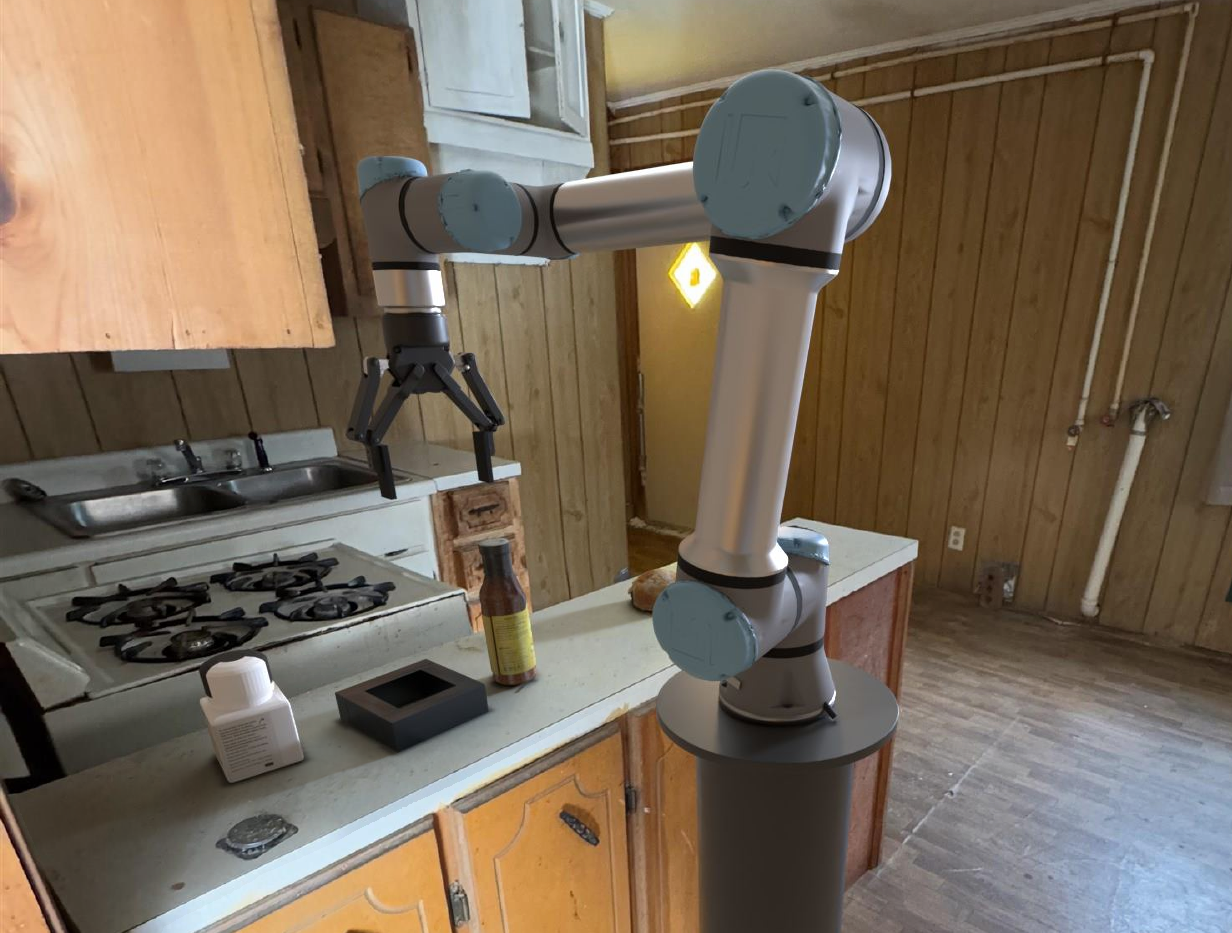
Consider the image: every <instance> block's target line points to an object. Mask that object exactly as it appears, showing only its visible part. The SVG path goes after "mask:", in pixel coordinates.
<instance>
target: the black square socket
mask: <svg viewBox="0 0 1232 933" xmlns="http://www.w3.org/2000/svg"><path fill="white" fill-rule="evenodd" d="M334 696H335V700H336V705H337V710H338V713H339V718H340V721H341V722H343V723H344V724H347V725H348V726H350V727H351V728H353V729H356V730H357V731H359V732H361V733H362V734H365V735H366V736H368V737H370V738H371V739H373V740H375V741H377V742H378V743H380V744H382V745H384V746H386V747H387V748H389V749H390V750H393V751H394V752H395V753H401V752H402V751H405V750H407V749H409V748H412V747H413V746H416V745H418V744H421V743H422V742H424V741H426V740H429V739H431V738H433V737H436V736H438V735H440V734H442V733H444V732H447V731H449V730H451V729H454V728H455V727H457V726H460V725H462V724H464V723H467V722H469V721H471V720H473V719H475V718H477V717H479V716H481V715H483V714H486V713H488V712H489V704H488V698H487V689H486V684H485V683H484V682H482V681H479V680H477V679H475V678H472V677H469V676H467V675H465V674H463V673H461V672H458V671H457V670H456V671H455V670H454V669H451V668H449V667H446V666H444V665H442V664H439V663H438V662H434V661H432V660H430V659H427V658H424V659H421V660H419V661H416V662H413V663H410V664H408V665H405V666H403V667H399V668H398V669H394V670H391V671H389V672H387V673H383V674H381V675H378V676H375V677H373V678H371V679H368V680H365V681H362V682H359V683H356V684H353V685H351V686H348V687H346V688H343V689H340V690H337V691H335V692H334ZM423 697H426V698H423ZM421 698H423V699H421ZM418 699H421V700H418ZM415 700H416V702H413V701H415ZM417 700H418V701H417ZM412 702H413V703H412ZM409 703H411V704H409ZM406 704H409V705H406ZM404 705H406V706H404ZM401 706H403V707H402V708H399V707H401Z"/></svg>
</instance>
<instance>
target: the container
mask: <svg viewBox="0 0 1232 933" xmlns="http://www.w3.org/2000/svg"><path fill="white" fill-rule="evenodd" d="M198 673H199V677H200V679H201V683H202V686H203V689H204V693H205V696H206V697H201V698H200V699H199V705H200V708H201V711H202V715H203V718H204V721H205V724H206V727H207V731H208V734H209V737H210V741H211V744H212V747H213V750H214V753H215V756H216V758H217V761H218V762H219V765H220V767H221V769H222V771H223V774H224V776H225V777H226V779H227V781H228V783H230V784H234V783H236V782H240V781H243V780H246V779H249V778H252V777H255V776H259V775H262V774H264V773H268V772H271V771H275V770H277V769H278V770H279V769H281V768H284V767H287V766H291V765H293V764H295V763H299V762H302V761H303V760H304V757H305V756H304V753H303V749H302V745H301V741H300V736H299V734H298V733H299V732H298V730H297V729H298V728H297V725H296V721H295V717H294V714H293V710H292V707H291V703H290V701H289V700H288V699H287V697H286V696H285V695H284V693H283V692H282V689H280V688H279V686H278V685H277V683H276V682H275V681H274V679H273V675H272V671H271V666H270V663H269V659H268V657H267V655H266V654H264V653H263V652H261V651H259V650H254V649H253V650H252V649H235V650H229V651H224V652H221V653H219V654H216V655H214V656H212V657H210V658H208V659H207V660H205V661H204V662H202V664H201V665H200V667H199V668H198Z"/></svg>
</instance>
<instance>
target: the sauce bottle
mask: <svg viewBox="0 0 1232 933" xmlns="http://www.w3.org/2000/svg"><path fill="white" fill-rule="evenodd" d="M477 544H478V552H479V555H481V562H482V566H483V571H482V572H483V575H484V576H483V580H482V584H481V586H480V588H479V592H478V598H479V603H480V608H481V613H480V614H481V619H482V624H483V630H484V637H485V642H486V649H487V655H488V661H489V666H490V670H491V673H492V678H493V680H494V681H495V682H496V683H498V684H500V685H503V686H517V685H522V684H526V683H528V682H529V681H531V680H533V679H534V678H535V677H536V676H537V658H536V653H535V645H534V639H533V631H532V626H531V618H530V612H529V605H528V599H527V595H526V593H525V592H524V590H523V587H522V586H521V583H520V581H519V579H518V577H517V575H516V573H515V571H514V568H513V564H512V558H511V557H512V556H511V550H512V546H511V543H510V540H508V539H507V538H503V537H497V538H488V539H484V540H481V541H479V542H478V543H477Z"/></svg>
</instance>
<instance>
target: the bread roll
mask: <svg viewBox="0 0 1232 933" xmlns="http://www.w3.org/2000/svg"><path fill="white" fill-rule="evenodd" d="M675 578H676V571H674V570H667V569H665V568H653V569H651V570H648V571H647V570H646V571H645V572H642V573H641V574H640V575H639V576H637V577H636V579H634V580H633V581H632V582H631V584H632V585H631V587H629V588H628V589H627V594H628V595H630V598H631V599H630V602H631V603H632V604H633V606H634V607H635V608H636V609H639V610H641V611H642V612H653V608H654V604H655V602H656V599H657V598H658V596H659V595H660V594H661V593H662V591H663V590H664V589H665V588H666V587H667V586H668V585H670V584H671V583H673V582H675Z"/></svg>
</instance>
